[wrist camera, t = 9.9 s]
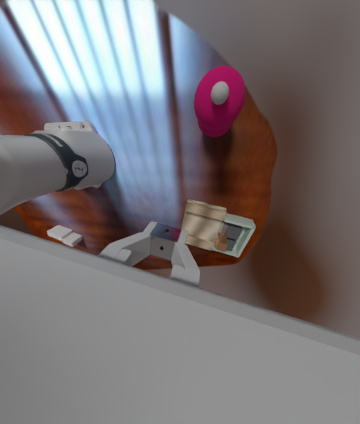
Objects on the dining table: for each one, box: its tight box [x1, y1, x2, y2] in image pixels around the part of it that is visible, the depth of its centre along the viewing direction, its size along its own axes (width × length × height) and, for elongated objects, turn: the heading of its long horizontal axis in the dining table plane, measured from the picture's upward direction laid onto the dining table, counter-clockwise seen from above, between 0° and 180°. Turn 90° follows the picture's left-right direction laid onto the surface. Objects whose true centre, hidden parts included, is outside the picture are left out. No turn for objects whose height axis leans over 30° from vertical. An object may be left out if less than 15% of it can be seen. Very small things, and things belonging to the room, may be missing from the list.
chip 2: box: [226, 237, 236, 251], centre depth 42 cm, size 4×4×3 cm
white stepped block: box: [47, 225, 82, 247], centre depth 58 cm, size 15×11×6 cm
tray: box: [213, 213, 256, 257], centre depth 41 cm, size 8×12×4 cm
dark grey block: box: [225, 223, 243, 240], centre depth 39 cm, size 4×4×3 cm
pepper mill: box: [194, 66, 245, 137], centre depth 21 cm, size 7×7×20 cm
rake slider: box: [214, 221, 228, 251], centre depth 39 cm, size 2×9×7 cm, turn 170°
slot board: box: [181, 199, 227, 250], centre depth 42 cm, size 12×15×3 cm
